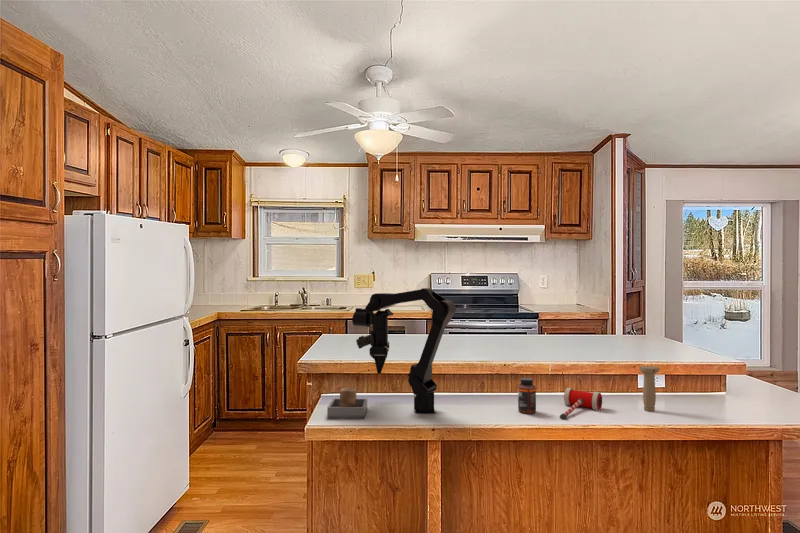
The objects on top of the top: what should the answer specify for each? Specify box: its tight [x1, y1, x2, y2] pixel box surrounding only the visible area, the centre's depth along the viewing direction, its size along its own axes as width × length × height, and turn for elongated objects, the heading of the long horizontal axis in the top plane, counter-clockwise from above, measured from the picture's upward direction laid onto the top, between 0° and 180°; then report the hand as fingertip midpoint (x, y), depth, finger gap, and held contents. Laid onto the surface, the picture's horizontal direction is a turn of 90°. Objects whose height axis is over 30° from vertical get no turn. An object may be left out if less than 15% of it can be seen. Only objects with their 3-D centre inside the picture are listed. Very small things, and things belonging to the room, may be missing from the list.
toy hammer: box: [559, 387, 603, 420], centre depth 170 cm, size 23×12×6 cm, turn 141°
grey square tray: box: [326, 397, 368, 420], centre depth 167 cm, size 12×12×4 cm
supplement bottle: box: [517, 377, 537, 415], centre depth 170 cm, size 6×6×11 cm
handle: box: [638, 365, 660, 412], centre depth 172 cm, size 5×6×15 cm
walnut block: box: [339, 387, 357, 407], centre depth 167 cm, size 5×5×7 cm
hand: (379, 371), depth 179 cm, fingers open, 9 cm apart
